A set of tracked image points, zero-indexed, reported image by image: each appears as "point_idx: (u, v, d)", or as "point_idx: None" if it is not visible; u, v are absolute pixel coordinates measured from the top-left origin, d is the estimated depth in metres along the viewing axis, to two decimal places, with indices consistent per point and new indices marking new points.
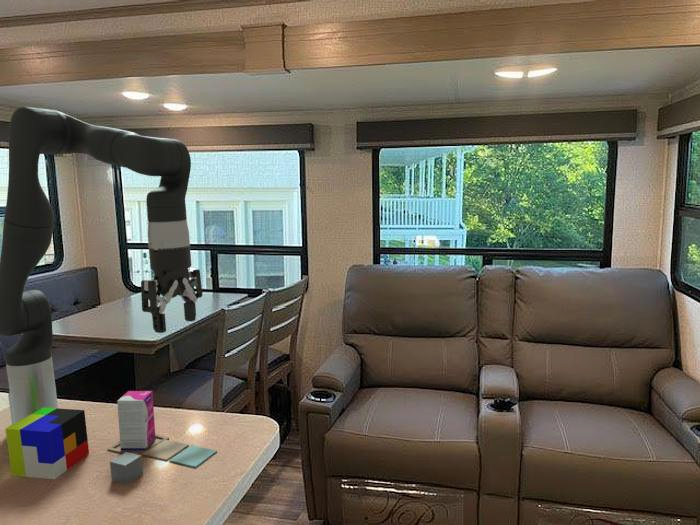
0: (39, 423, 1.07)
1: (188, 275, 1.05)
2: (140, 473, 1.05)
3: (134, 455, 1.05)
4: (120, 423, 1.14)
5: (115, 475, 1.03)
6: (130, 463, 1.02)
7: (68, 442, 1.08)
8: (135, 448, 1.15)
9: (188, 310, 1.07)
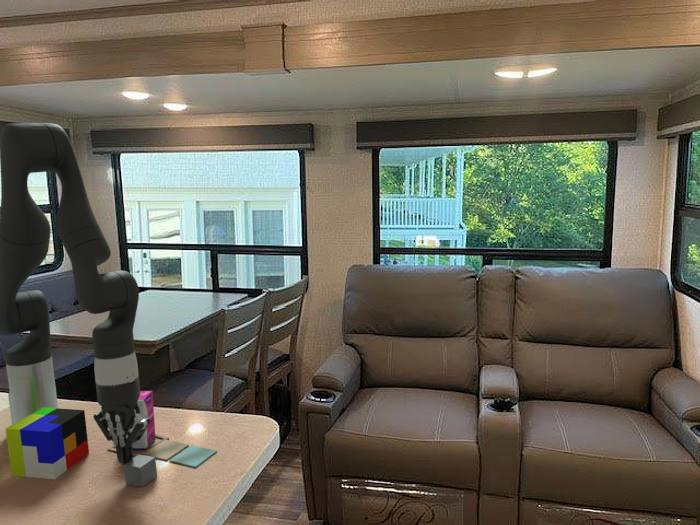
0: (39, 423, 1.07)
1: None
2: (154, 475, 1.04)
3: (148, 457, 1.04)
4: None
5: (130, 478, 1.01)
6: (144, 465, 1.01)
7: (68, 442, 1.08)
8: (135, 448, 1.15)
9: None
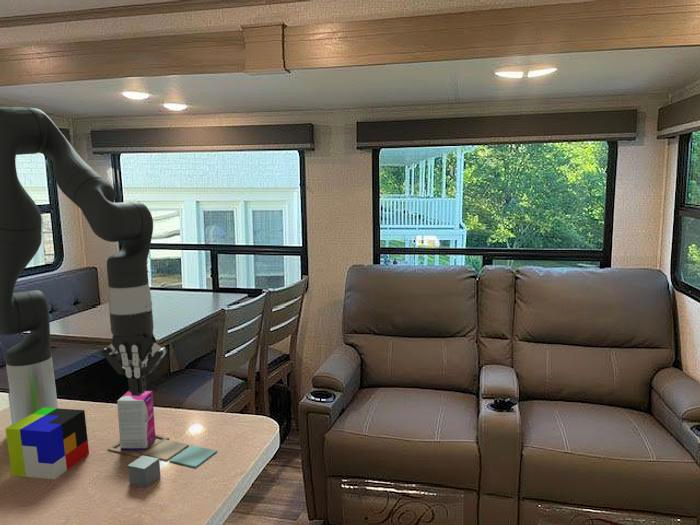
0: (39, 423, 1.07)
1: None
2: (158, 476, 1.04)
3: (152, 458, 1.04)
4: (120, 423, 1.14)
5: (133, 479, 1.01)
6: (148, 467, 1.01)
7: (68, 442, 1.08)
8: (135, 448, 1.15)
9: None
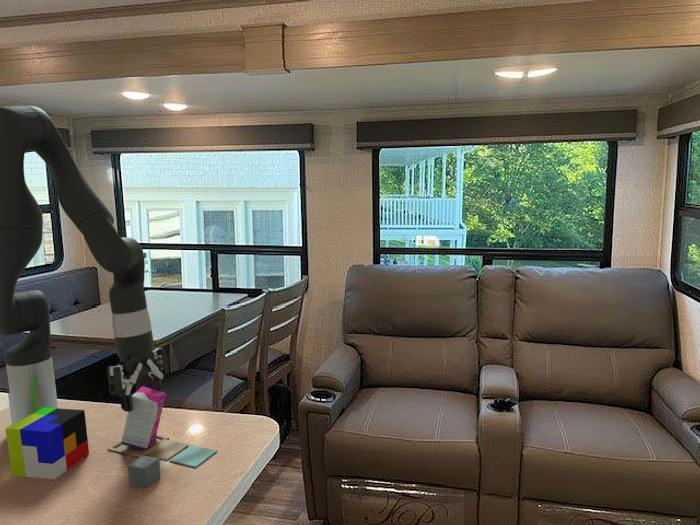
0: (39, 423, 1.07)
1: None
2: (158, 476, 1.04)
3: (152, 458, 1.04)
4: (128, 418, 1.14)
5: (133, 479, 1.01)
6: (149, 467, 1.01)
7: (68, 442, 1.08)
8: (136, 445, 1.15)
9: None
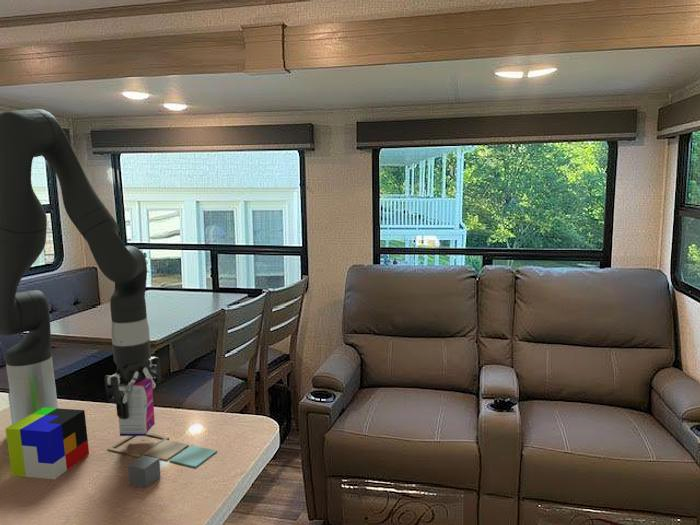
0: (39, 423, 1.07)
1: None
2: (158, 476, 1.04)
3: (152, 458, 1.04)
4: None
5: (133, 479, 1.01)
6: (148, 467, 1.01)
7: (68, 442, 1.08)
8: (134, 433, 1.15)
9: None
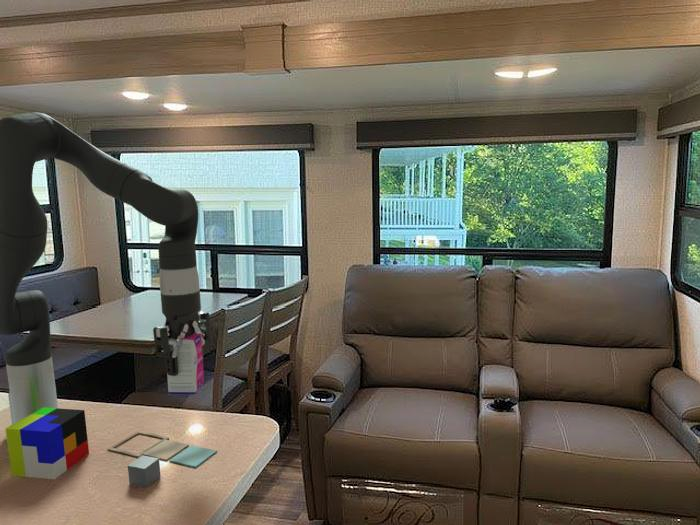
0: (39, 423, 1.07)
1: None
2: (158, 476, 1.04)
3: (152, 458, 1.04)
4: None
5: (133, 479, 1.01)
6: (148, 467, 1.01)
7: (68, 442, 1.08)
8: (184, 392, 1.06)
9: None
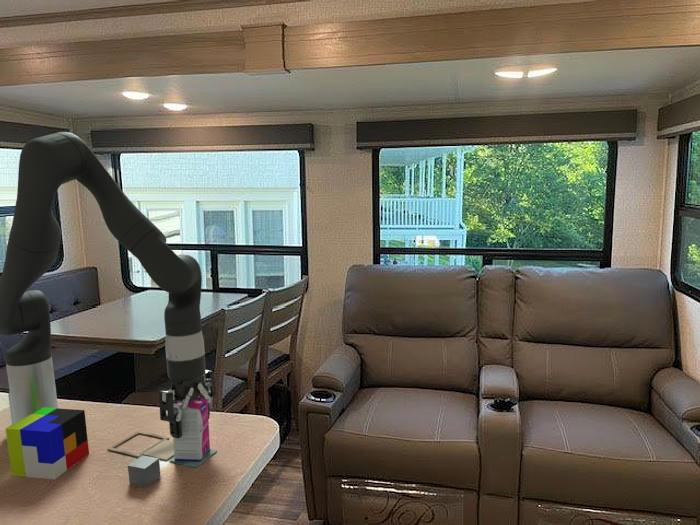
0: (39, 423, 1.07)
1: None
2: (158, 476, 1.04)
3: (152, 458, 1.04)
4: None
5: (133, 479, 1.01)
6: (149, 466, 1.01)
7: (68, 442, 1.08)
8: (189, 459, 1.09)
9: None
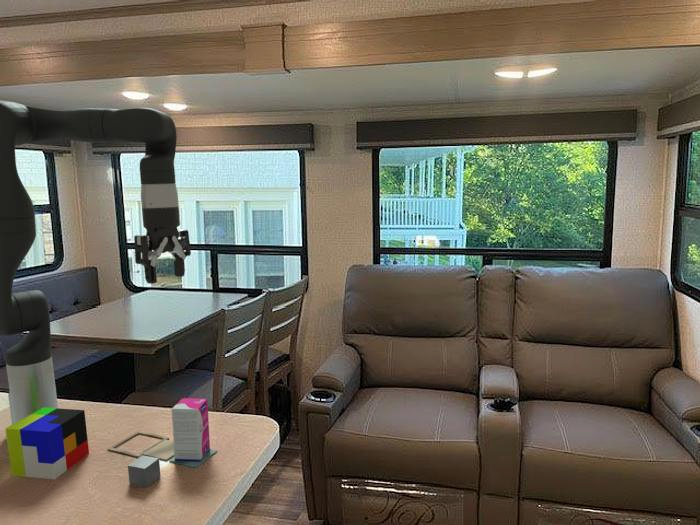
0: (39, 423, 1.07)
1: None
2: (158, 476, 1.04)
3: (152, 458, 1.04)
4: (174, 432, 1.08)
5: (133, 479, 1.01)
6: (149, 466, 1.01)
7: (68, 442, 1.08)
8: (189, 459, 1.09)
9: None
